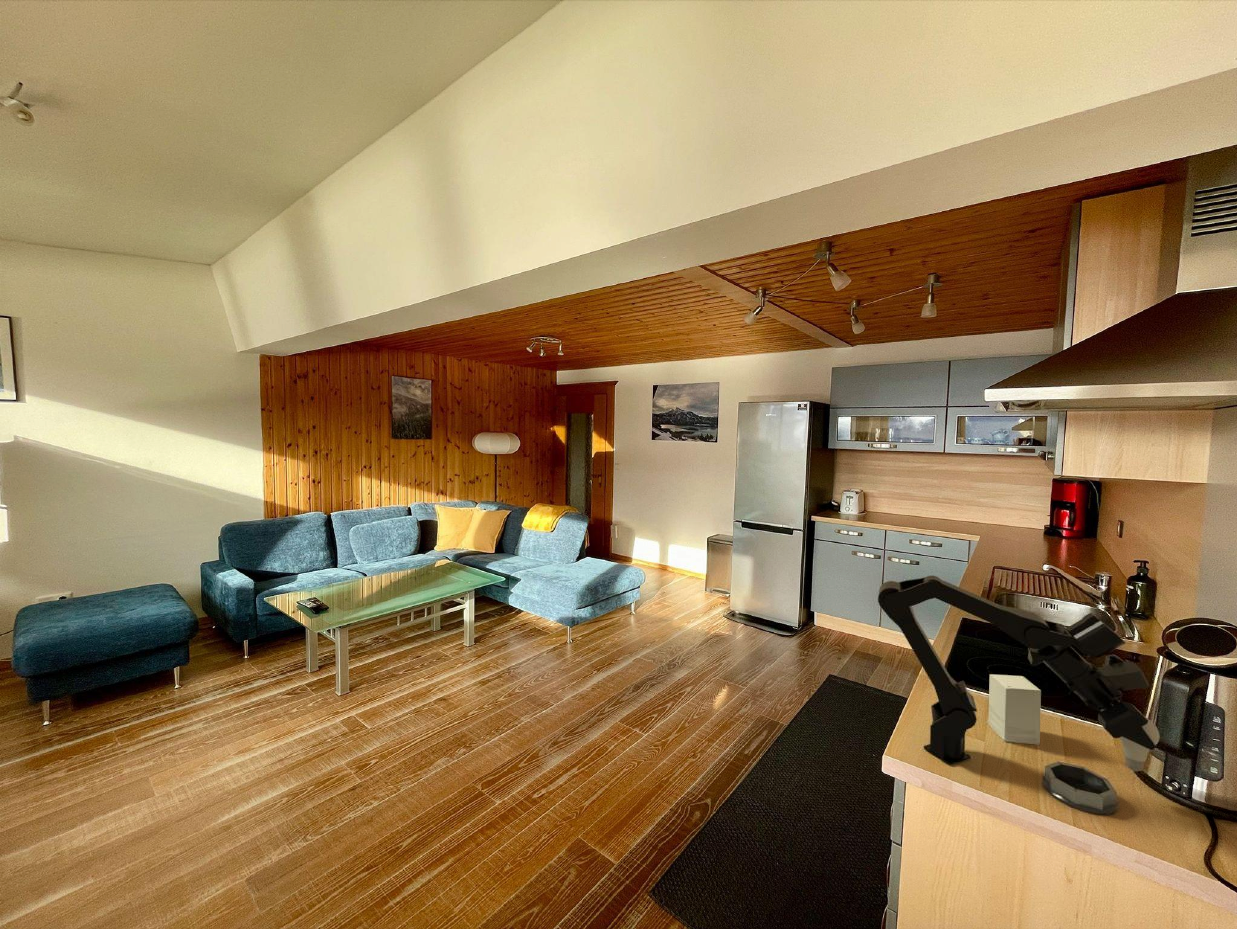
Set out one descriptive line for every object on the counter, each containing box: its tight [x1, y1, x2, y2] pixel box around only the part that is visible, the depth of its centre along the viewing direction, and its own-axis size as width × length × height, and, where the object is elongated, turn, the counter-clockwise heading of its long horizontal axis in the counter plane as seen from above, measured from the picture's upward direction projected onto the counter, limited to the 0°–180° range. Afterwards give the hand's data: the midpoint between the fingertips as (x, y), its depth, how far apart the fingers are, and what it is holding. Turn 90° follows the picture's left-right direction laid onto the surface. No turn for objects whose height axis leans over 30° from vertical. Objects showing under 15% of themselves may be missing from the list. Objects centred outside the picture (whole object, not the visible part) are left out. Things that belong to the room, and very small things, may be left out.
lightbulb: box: [1119, 716, 1161, 772], centre depth 98 cm, size 6×6×11 cm
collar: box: [1041, 761, 1119, 816], centre depth 99 cm, size 11×11×3 cm
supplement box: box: [988, 673, 1042, 746], centre depth 119 cm, size 7×7×13 cm
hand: (1145, 739), depth 97 cm, fingers closed on lightbulb, 6 cm apart
